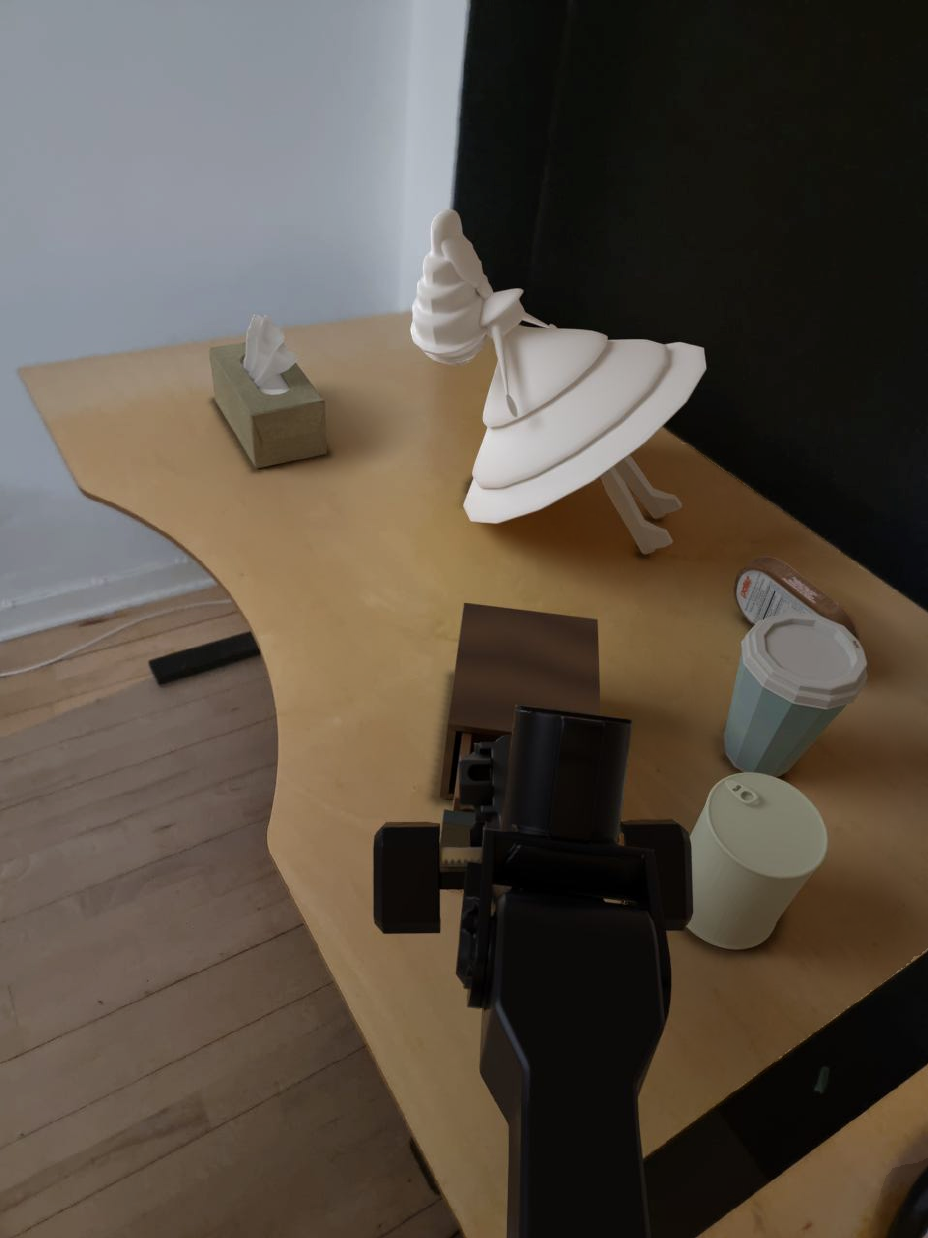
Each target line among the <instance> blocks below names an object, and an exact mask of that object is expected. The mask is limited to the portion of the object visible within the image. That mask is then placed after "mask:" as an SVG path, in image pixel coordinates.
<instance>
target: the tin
mask: <svg viewBox="0 0 928 1238" xmlns="http://www.w3.org/2000/svg"><path fill="white" fill-rule="evenodd" d="M733 598H734V601H735V604H736V606H737V608H738V610H739V612H740V613H741V615H742V617H744V619H745V620H746V621H747V622H749V624H750V625H752V627H754V625H755V624H756V623H757V622H758V621H759V620H763V619H765V618H768V617H772V616H775V615H779V614H783V613H786V612H796V613H807V614H817V615H819V616H822V617H824V618H826V619H829V620H831V621H833V622H836V623H838V624H840V625H843V626H844V627H845V628H846V629H847V630H848V631H849V632H850V633H851V634H852V635H853V636H854V637H855V638H856V639H857V640H858V641H859V642H860V635H859V630H858V627H857V624H856V622H855V620H854V619H853V617H852V615H851V614H850V612H849V611H848V610H847V609H846V608H845V607H844V606H843V604H841V603H840V602H838V601H837V600H836V599H834V598H833V597H832V596H830V595H829V594H828V593H826V592H825V591H824V590H822V589H821V588H820V587H818V586H817V585H816V584H815V583H813V582H812V581H811V580H810V579H808V578H807V577H805V576H804V575H803V574H802V573H800V572H799V571H797V569H795V568H794V567H792V566H791V565H790V564H788V563H787V562H786V561H784V560H782V559H780V558H778V557H775V556H767V555H766V556H765V555H764V556H761V557H758V558H755V559H754V560H753V561H752V562H750V563H748V564H746V565H745V566H743V567H742V568H740V570H739V571H738V573H737V574H736V576H735V578H734V583H733Z"/></svg>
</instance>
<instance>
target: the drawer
mask: <svg viewBox="0 0 928 1238" xmlns="http://www.w3.org/2000/svg"><path fill="white" fill-rule="evenodd" d="M500 737H502V736H494V735H486V734H478V733H470V732H463V731H462V734H461V742H460V749H459V756H460V755H469V754H472V753H473V752H474V743H480V742H495V741H496V740H497V739H499V738H500ZM490 781H491V780H490ZM451 808H452V809H443V814H442V820H441V821H442V822H441V828H440V852H441V849H442V848H444V847H470V829H471V827H472V825H473V824H474V823H476V822H475V812H474V810H472V809H461V808H460V807H459V758H458V766H457V774H456V783H455V791H454V799H452V807H451ZM440 867H467V860H465V863H464V865H462V864H461V861H460V860H459V861H458V864H457V865H455V863H454V860H452V862H451V865H448V862H447V860H446V861H445V864H444V865H442V864H441V861H440Z"/></svg>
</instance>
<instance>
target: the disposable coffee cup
mask: <svg viewBox="0 0 928 1238" xmlns="http://www.w3.org/2000/svg"><path fill="white" fill-rule="evenodd" d="M740 644H741V645H740V646H741V653H740V658H739V662H738V667H737V672H736V677H735V681H734V686H733V690H732V695H731V700H730V703H729V709H728V714H727V718H726V723H725V728H724V733H723V742H724V744H723V745H724V751H725V752H724V753H725V756H726V757H727V759H728V760H729V761H730V762H731V764H732V766H733V767H734V768H736V769H737V770H739V771H740V772H741V773H746V772H752V773H761V774H766V775H770V776H773V777H776V778H778V777H781V776H782V775H784V774H787V773H788V772H789V771H790V770H791V768H793V766H794V765H795V764H796V763H797V762H798V761H799V759H801V757H802V756H803V755H804V754H805V753H806V752H807V750H808V749H810V747H811V746H812V745H813V744H814V743H815V741H817V740H818V738H819V737H820V736H821V735H822V733H823V732H825V730H826V729H827V728H828V727H829V725H831V723H832V722H833V721H834V720H835V719H836V718H837V717H838V715H839V714H840V713H841V712H842V711H843V710H844V709H845V708H846V707H847V705H849V704H853V703H855V701H856V700H857V699H858V697H859V695H860V694H861V692H862V690H863V689H864V688H865V686H866V682H867V680H868V673H867V670H866V669H867V667H868V661H867V658H866V653H865V650H864V649H865V648H863V645H861V642H860V640H859V641H858V640H857V639H856V638H855V637H854V636H853V635H852V634H851V633H850V632H849V631H848V630H847V629H846V628H845V627H844V626H843V625H840V624H838V623H836V622H833V621H831V620H829V619H826V618H824V617H822V616H819V615H817V614H807V613H796V612H786V613H783V614H779V615H775V616H772V617H768V618H765V619H763V620H759V621H758V622H757V623H756V624H755V625H754V626H752V627H751V629H750V630H749V631H748V632H747V633H746V634H745V636H744V637H743V639H742V640H741V641H740Z"/></svg>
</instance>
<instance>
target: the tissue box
mask: <svg viewBox="0 0 928 1238" xmlns="http://www.w3.org/2000/svg"><path fill="white" fill-rule="evenodd" d="M285 339H286V338H285V333H284V332H283V331H282V330H281V328H279V326H278V325H277V324H276V323H275V322H273V321H272V319H270V317H268V316H267V315H266V314H264V316H263V317H262V316H260V315H258V314H253V317H252V319H251V321H250V323H249V326H248V327H247V332H246V338H245V341H244V342H239V343H233V344H226V345H219V346H212V347H209V348H208V357H209V366H210V372H211V379H212V380H211V381H212V386H213V395H214V401H215V402H216V404H217V405H218V407H219V409H220V411H221V412H222V414H223V416H224V417H225V419H226V421H227V422H228V424H229V426H230V427H231V429H232V431H233V433H234V435H235V436H236V437H237V440H238V441H239V443H240V444H241V447H242V449H244V452H245V453H246V454H247V456H248V458H249V460H250V461H251V463H252V465H253V467H254V468H256V469H260V468H265V467H271V466H276V465H280V464H284V463H289V462H294V461H298V460H303V459H309V458H314V457H319V456H324V455H326V454H327V424H326V423H327V421H326V419H327V418H326V400H325V399H324V397H323V396H322V395H321V394H320V392H319V391H318V390H317V389H316V387H315V386H314V385H313V383H312V382H311V381H310V379H309V378H308V376H306V374H305V372H304V371H303V370H302V369H301V368H300V366H299V365H298V364H297V361H298V360H299V358H300V357H299V356H297V355H296V354H295V353H294V352H292V351H291V350H290V349H289V347H287V346H286V344H285V342H284V341H285Z"/></svg>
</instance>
